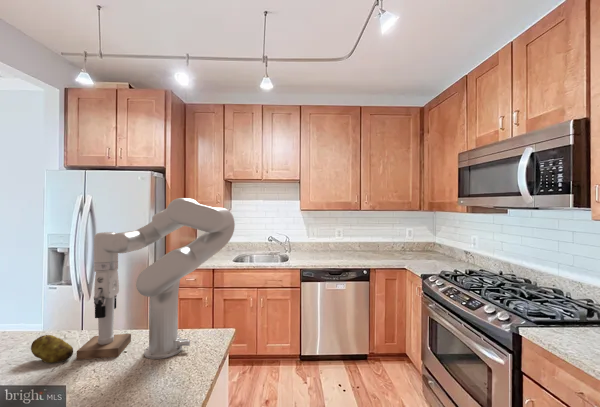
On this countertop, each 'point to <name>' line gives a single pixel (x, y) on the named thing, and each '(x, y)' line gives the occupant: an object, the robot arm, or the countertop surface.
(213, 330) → the countertop surface
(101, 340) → the bottle
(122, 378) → the countertop surface
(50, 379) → the countertop surface
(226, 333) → the countertop surface
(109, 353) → the walnut plinth
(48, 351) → the potato
